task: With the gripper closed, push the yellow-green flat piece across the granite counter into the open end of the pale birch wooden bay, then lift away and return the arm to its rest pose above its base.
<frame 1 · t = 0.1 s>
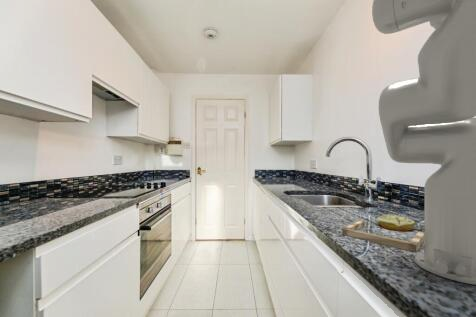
hand: (459, 113, 64), 37 cm above the counter, tool pointing down, fingers open, 9 cm apart
wooden bay: (383, 235, 68), on the counter
yellow-green flat piece: (395, 228, 78), on the counter
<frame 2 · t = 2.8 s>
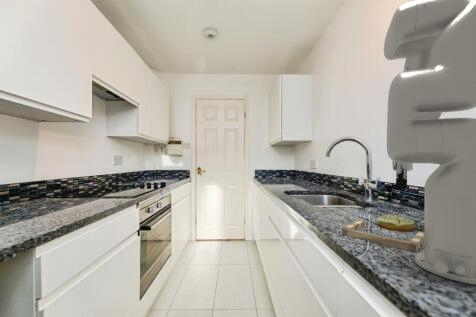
hand: (401, 189, 86), 12 cm above the counter, tool pointing down, fingers closed
nothing on the counter moved.
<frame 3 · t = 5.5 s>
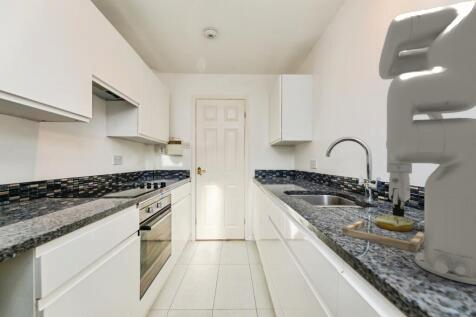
hand: (398, 218, 83), 2 cm above the counter, tool pointing down, fingers closed
yellow-green flat piece: (393, 228, 78), on the counter, touching gripper
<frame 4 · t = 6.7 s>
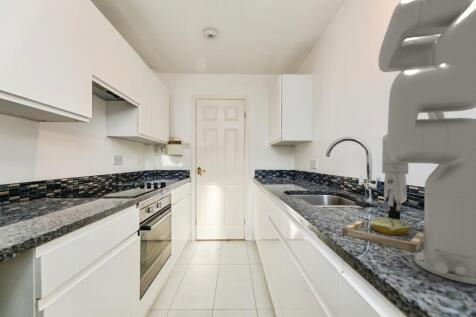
hand: (394, 221, 78), 2 cm above the counter, tool pointing down, fingers closed
yellow-green flat piece: (389, 232, 74), on the counter
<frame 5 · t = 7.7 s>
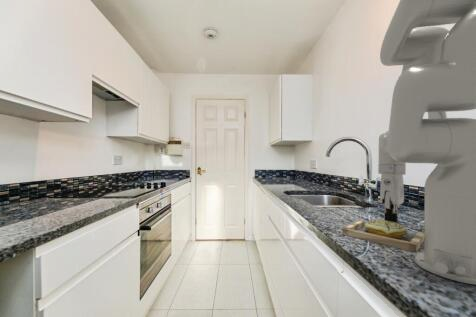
hand: (390, 224, 75), 2 cm above the counter, tool pointing down, fingers closed
yellow-green flat piece: (384, 235, 70), on the counter, touching gripper
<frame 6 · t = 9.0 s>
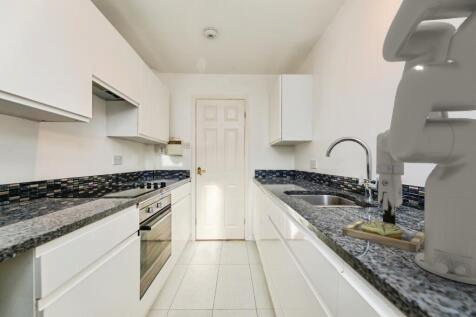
hand: (389, 226, 73), 2 cm above the counter, tool pointing down, fingers closed
yellow-green flat piece: (381, 237, 69), on the counter
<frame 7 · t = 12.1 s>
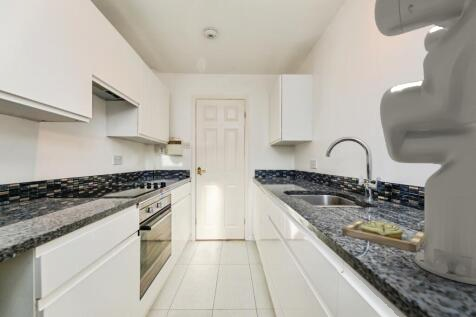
hand: (452, 143, 63), 28 cm above the counter, tool pointing down, fingers closed
nothing on the counter moved.
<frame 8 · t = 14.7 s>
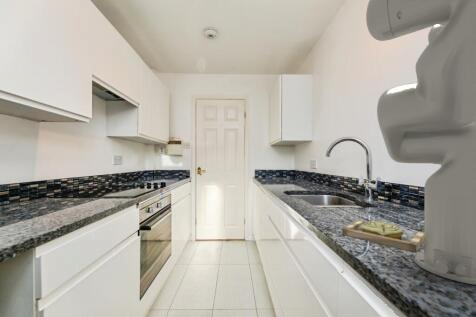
hand: (459, 135, 62), 30 cm above the counter, tool pointing down, fingers open, 9 cm apart
nothing on the counter moved.
at the end: yellow-green flat piece inside the target area on the wooden bay (0.8 cm from its centre), point -0.5 cm above the wooden bay's base; yellow-green flat piece tilted 1°; yellow-green flat piece moved 14.9 cm from its start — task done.
